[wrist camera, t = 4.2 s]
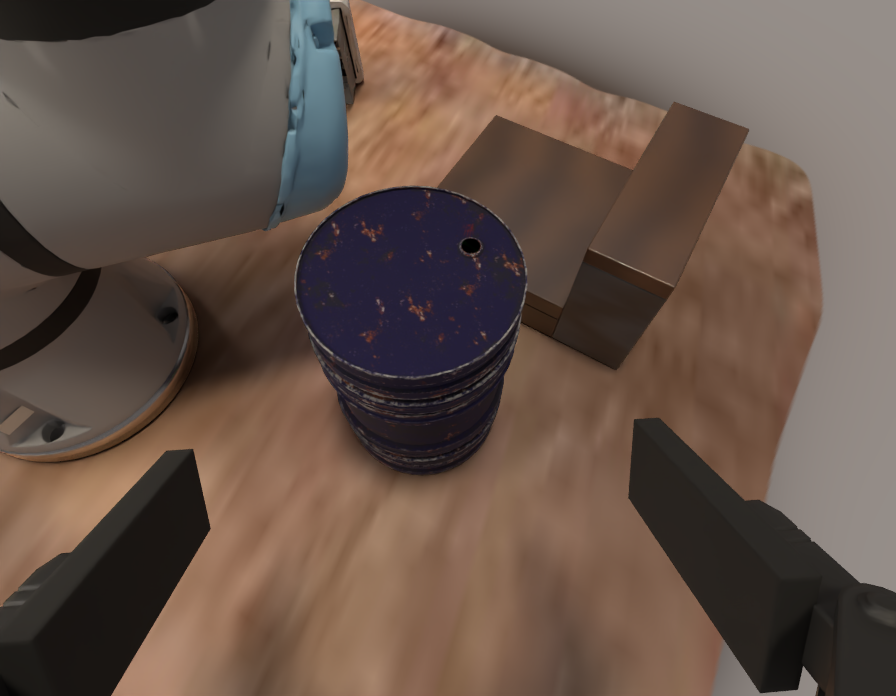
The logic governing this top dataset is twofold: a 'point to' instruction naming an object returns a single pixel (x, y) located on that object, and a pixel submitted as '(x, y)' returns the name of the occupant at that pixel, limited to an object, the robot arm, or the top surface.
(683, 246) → the l-shaped metal base
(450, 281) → the blue oil drum
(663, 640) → the top surface
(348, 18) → the electrical switch
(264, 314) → the top surface
